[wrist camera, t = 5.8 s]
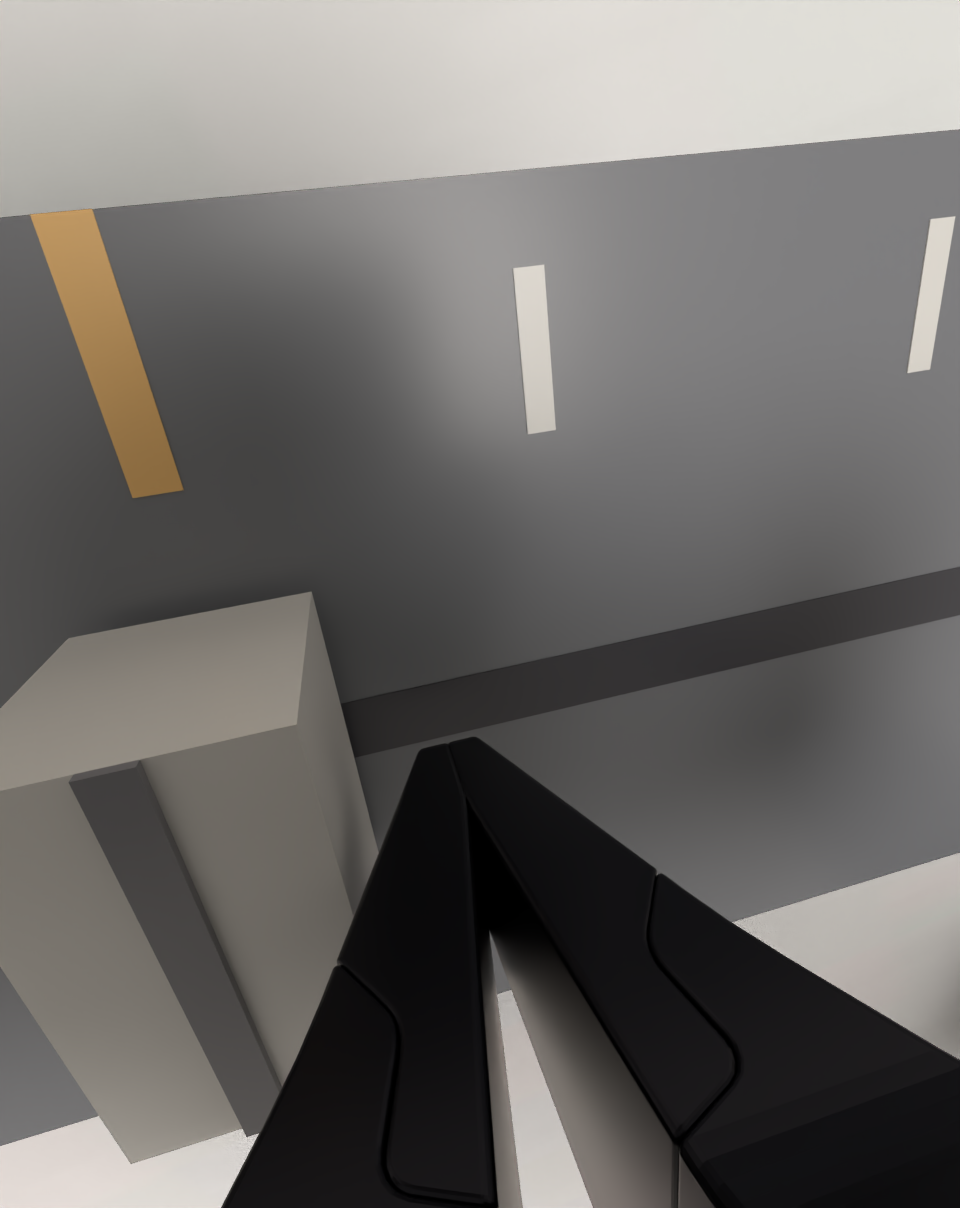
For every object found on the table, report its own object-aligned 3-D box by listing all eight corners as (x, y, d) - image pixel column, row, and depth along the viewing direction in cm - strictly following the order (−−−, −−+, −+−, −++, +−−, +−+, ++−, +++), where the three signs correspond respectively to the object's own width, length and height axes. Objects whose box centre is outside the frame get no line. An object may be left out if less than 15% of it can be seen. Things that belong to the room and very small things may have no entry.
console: (957, 760, 17) (1055, 823, 14) (23, 1021, 13) (-44, 1161, 11) (1105, 151, 11) (1304, 97, 9) (-459, 311, 7) (-807, 291, 5)
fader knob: (382, 868, 10) (402, 1086, 7) (194, 918, 9) (127, 1174, 6) (311, 591, 8) (295, 730, 5) (68, 638, 7) (-111, 822, 4)
